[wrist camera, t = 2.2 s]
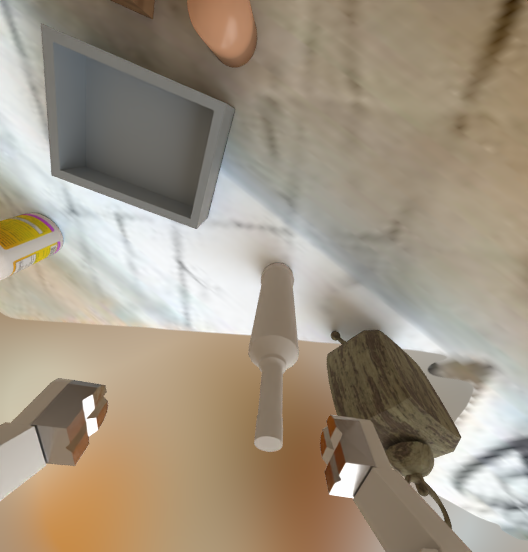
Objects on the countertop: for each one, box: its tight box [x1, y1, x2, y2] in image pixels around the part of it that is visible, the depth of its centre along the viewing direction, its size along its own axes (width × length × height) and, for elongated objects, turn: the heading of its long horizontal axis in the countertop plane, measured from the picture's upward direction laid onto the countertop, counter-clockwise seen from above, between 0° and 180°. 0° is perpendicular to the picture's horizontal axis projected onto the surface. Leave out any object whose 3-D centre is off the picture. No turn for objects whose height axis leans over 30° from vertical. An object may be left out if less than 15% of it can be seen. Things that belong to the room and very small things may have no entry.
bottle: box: [248, 263, 299, 452], centre depth 28 cm, size 5×5×25 cm
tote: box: [41, 23, 235, 229], centre depth 29 cm, size 14×18×5 cm
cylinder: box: [187, 0, 257, 67], centre depth 23 cm, size 5×5×7 cm
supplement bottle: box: [0, 213, 63, 280], centre depth 33 cm, size 7×7×13 cm
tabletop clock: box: [327, 330, 461, 529], centre depth 34 cm, size 14×9×25 cm, turn 48°
